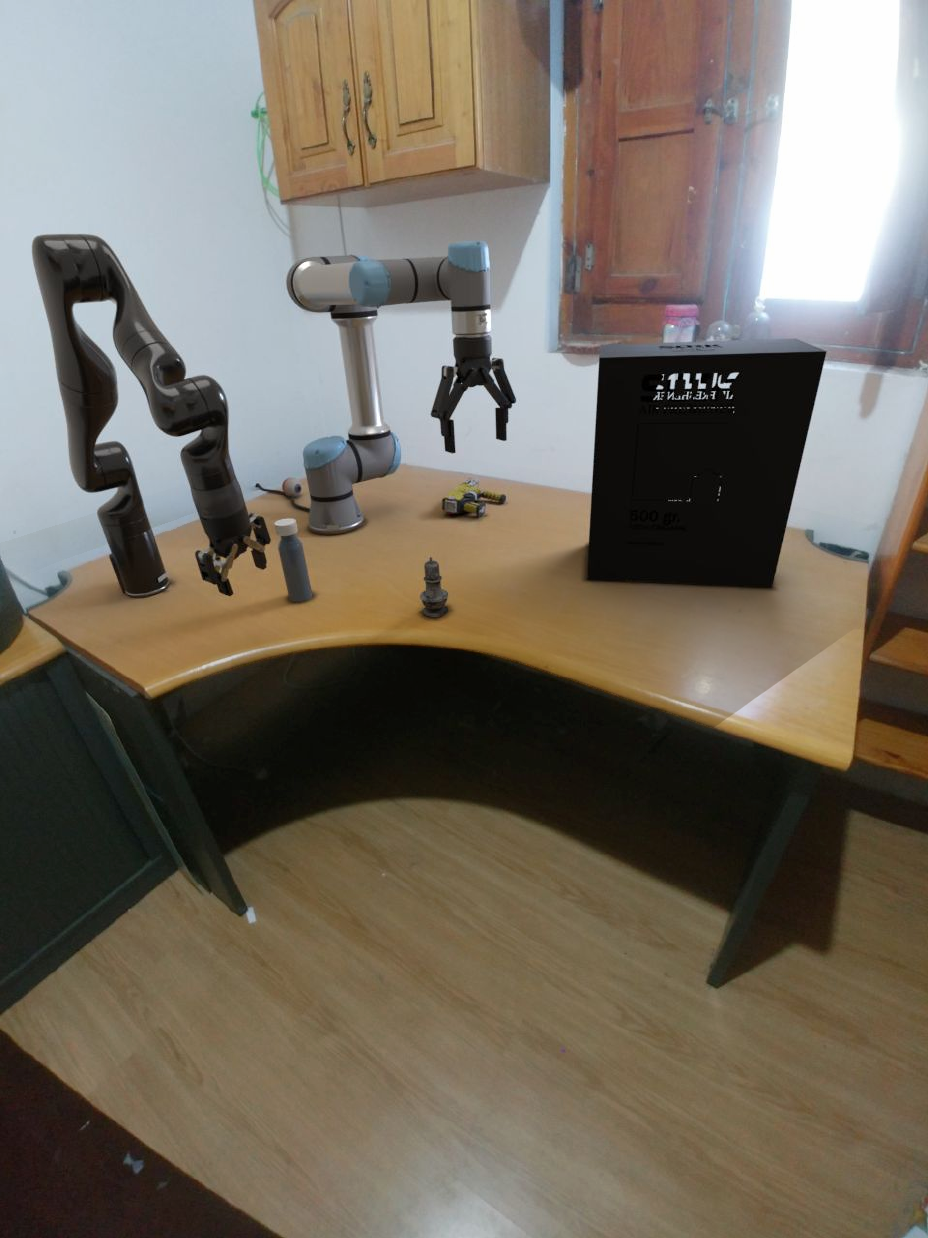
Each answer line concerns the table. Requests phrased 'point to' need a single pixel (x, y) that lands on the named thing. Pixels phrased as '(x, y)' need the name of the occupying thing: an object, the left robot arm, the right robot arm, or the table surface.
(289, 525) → the cap
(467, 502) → the toy gun
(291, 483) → the eyeball
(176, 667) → the table surface
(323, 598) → the table surface
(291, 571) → the bottle
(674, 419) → the cardboard box
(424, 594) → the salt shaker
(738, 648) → the table surface
